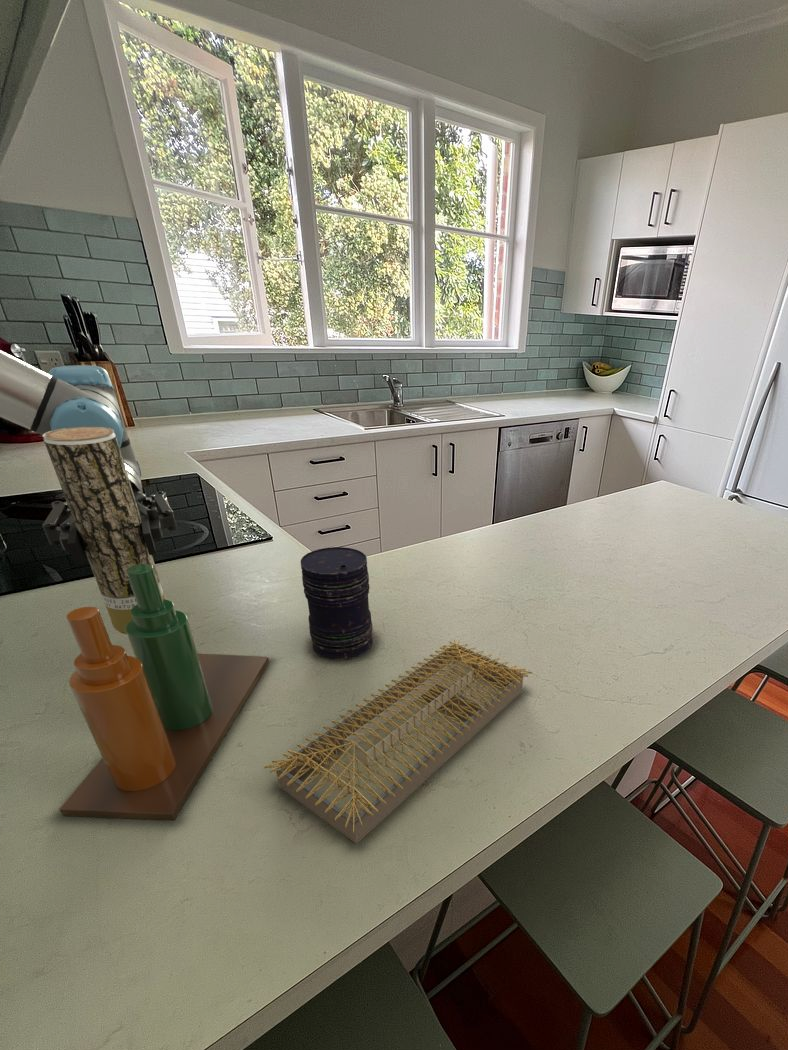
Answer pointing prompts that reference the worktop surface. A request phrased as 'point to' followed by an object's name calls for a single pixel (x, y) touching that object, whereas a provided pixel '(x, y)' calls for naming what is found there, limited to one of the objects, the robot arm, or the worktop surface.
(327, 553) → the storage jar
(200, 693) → the green bottle
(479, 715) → the rafter model
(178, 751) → the walnut board
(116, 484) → the bark cylinder
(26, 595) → the worktop surface
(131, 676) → the amber bottle
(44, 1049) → the worktop surface
